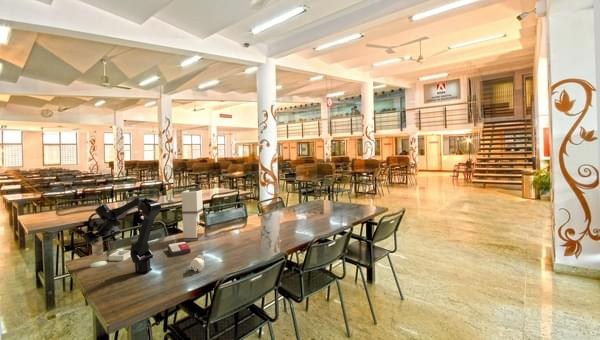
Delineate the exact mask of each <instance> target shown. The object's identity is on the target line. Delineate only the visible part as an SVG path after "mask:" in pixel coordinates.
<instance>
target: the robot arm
mask: <svg viewBox="0 0 600 340" xmlns="http://www.w3.org/2000/svg"><path fill="white" fill-rule="evenodd" d="M136 208H138V209H139V211H141V214H142V216H143V219H142V223H141V227H140V230H139V234H138V238H137V241H136V242H133V243H131V245H130V249H129V250H130V255H131V260H132V263H134V270H135V272H134V275H135V274H136V275H137V274H138V275H147V274H148V273H149V272H150V271H152V270H153V268H152V266H151V259H153V257H154V254H153V252H152V251H151V249H150V245H149V243H148V241H149V238H150V235H151V231H152V228H153V225H154V221H155V218H157V216H158V215H159V214H160V211H161V210H162V205H161V203H160V202H159V201H157V200H154V199H151V198H147V197H145V196H140V197H134V198H133V200H131V201H129V202H127V203H125V204H124V205H122V206H119V207H115V208H111V209H110V208H109V206H108V205H107V204H106V203H104V204H101V205H100V206H98V207H96V208H95V210H94V211H95V213H96V214H97V216H98V217H99V218H96V219H92V220H91V221H89V227H91V228H95V229H94V230H95V231H98V232H96V234H94V233H93V232H94V231H92V230H89V231H85V232H83V233H82V235H81V237H82V238H83V239H84V241H85V242H86V244H90V246H92V245H93V244H95V243H96V242H98V240H97V239H98V238H99V237H102V242H103V243H104V241H107V240H110V239H111V238H113V237H114V236H119V235H120V234H121V229H120V228H119V226H121V222H120V220H119V219H123V218H125V217H126V216H127V215H128V213H129V212H131V211H133V210H136Z"/></svg>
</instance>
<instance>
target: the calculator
mask: <svg viewBox="0 0 600 340" xmlns="http://www.w3.org/2000/svg"><path fill="white" fill-rule="evenodd" d="M167 250H168V253H169V255H170V256H171V257H172V258H173V257H178V256H183V255H187V254H191V248H190V246H189V245H188V243H187V241H181V242H177V243H176V242H175V243H169V244H168V245H167Z"/></svg>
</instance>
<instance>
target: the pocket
mask: <svg viewBox="0 0 600 340" xmlns="http://www.w3.org/2000/svg"><path fill="white" fill-rule="evenodd" d="M130 257H131V255H130V249H129V250H128V249H127V250H120V249H119V250H117V251H115V252H112V253H111V254H109V255H108V261H115V262H116V261H118V262H119V261H120V262H121V261H123V262H124V261H125V260H126V261H127V259H129V258H130Z"/></svg>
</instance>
